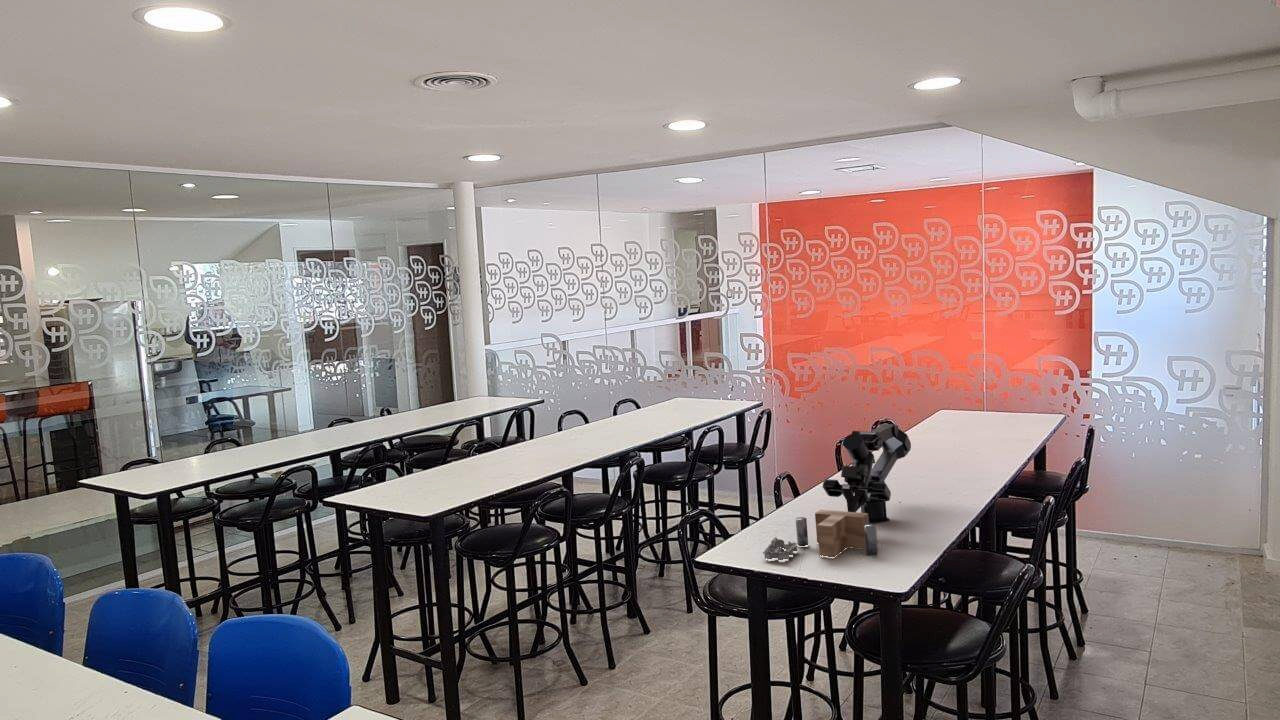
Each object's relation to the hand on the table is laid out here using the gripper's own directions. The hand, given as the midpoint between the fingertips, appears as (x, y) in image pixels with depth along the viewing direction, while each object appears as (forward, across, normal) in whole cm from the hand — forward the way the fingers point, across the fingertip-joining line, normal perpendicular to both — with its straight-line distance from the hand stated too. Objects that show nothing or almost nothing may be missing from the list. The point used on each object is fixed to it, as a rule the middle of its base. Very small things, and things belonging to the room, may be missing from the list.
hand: (850, 515), depth 243 cm
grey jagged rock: (+20, -12, -9) cm, 25 cm away
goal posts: (+12, 0, -3) cm, 13 cm away
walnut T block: (+13, 0, -3) cm, 13 cm away
